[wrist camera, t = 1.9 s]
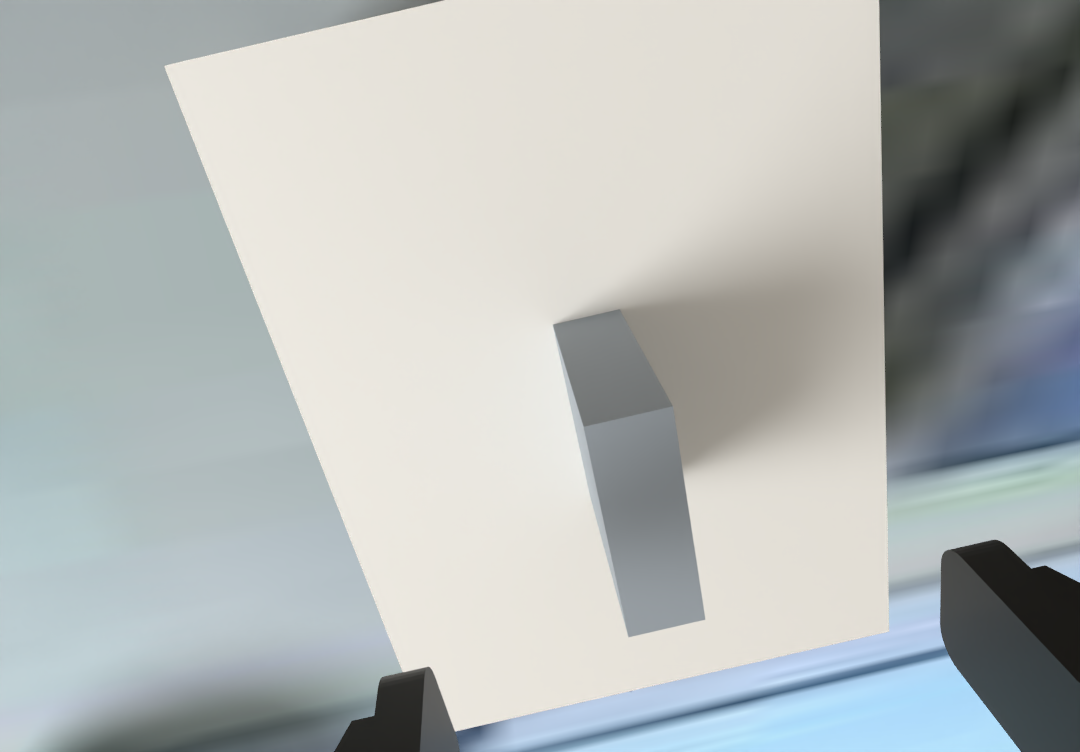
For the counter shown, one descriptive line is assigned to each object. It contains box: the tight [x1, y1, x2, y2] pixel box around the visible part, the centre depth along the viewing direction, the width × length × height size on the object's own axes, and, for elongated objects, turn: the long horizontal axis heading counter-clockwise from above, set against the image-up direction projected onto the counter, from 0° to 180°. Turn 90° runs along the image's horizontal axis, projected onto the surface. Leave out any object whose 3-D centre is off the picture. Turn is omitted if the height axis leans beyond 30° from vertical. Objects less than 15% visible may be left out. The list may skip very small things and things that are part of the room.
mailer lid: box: [164, 0, 889, 731], centre depth 18 cm, size 19×14×8 cm
